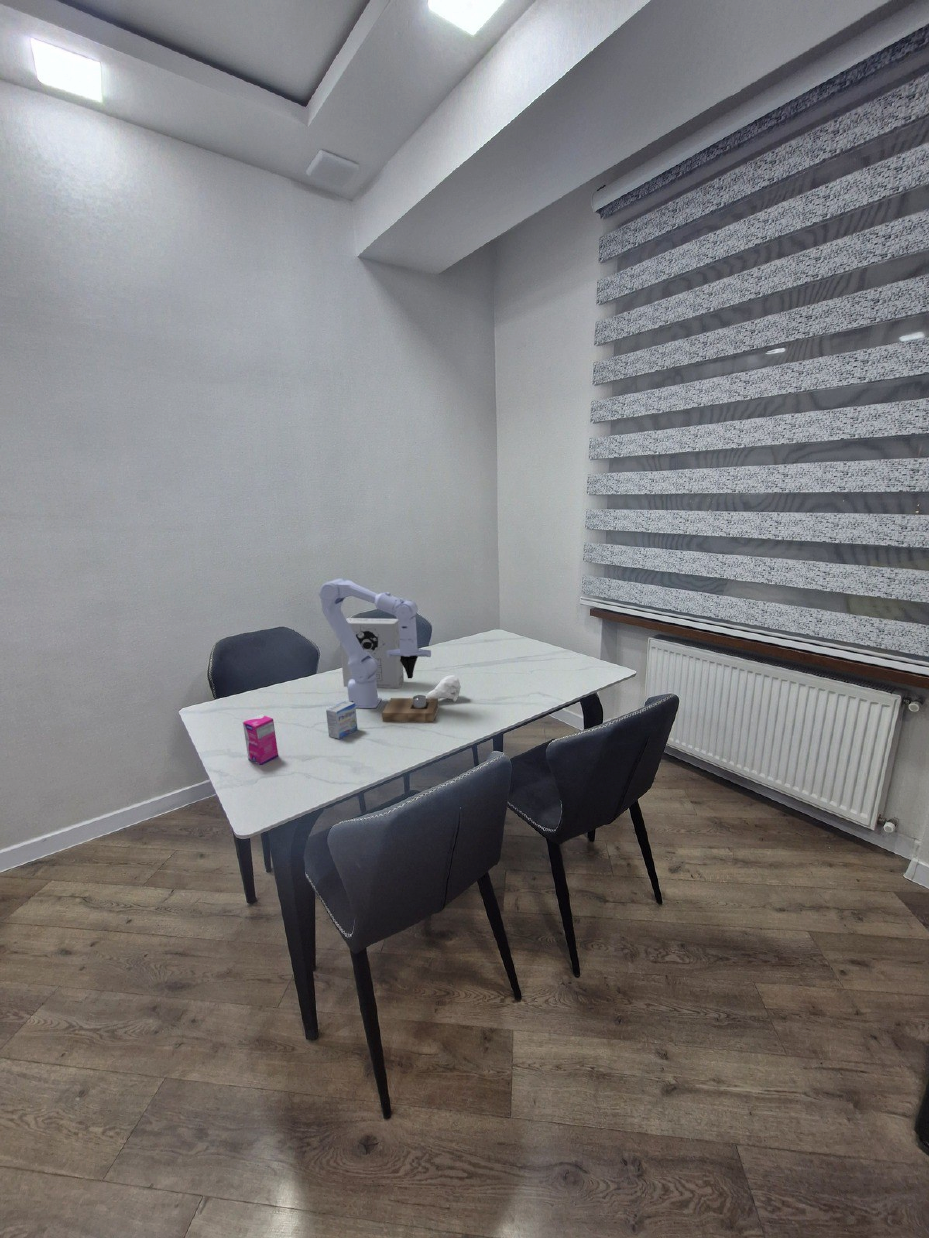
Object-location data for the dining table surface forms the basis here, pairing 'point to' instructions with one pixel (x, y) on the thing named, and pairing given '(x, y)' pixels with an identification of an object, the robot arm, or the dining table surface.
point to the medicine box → (341, 719)
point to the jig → (409, 711)
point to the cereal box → (377, 649)
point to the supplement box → (260, 739)
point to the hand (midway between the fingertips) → (410, 677)
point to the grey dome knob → (419, 702)
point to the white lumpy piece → (446, 688)
